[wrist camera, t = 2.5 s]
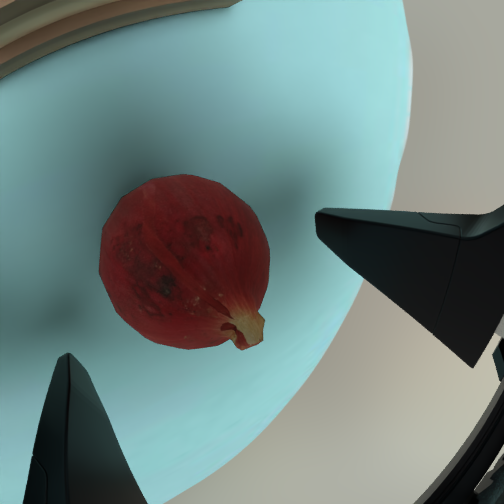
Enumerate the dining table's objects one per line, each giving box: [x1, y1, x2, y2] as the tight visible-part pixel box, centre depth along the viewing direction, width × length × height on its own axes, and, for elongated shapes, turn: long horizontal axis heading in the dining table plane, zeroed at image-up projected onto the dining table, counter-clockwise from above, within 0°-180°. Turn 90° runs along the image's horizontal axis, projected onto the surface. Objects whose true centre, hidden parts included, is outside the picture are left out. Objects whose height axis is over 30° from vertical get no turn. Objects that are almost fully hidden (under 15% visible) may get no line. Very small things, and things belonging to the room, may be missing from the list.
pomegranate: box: [99, 174, 270, 350], centre depth 10 cm, size 6×6×8 cm
